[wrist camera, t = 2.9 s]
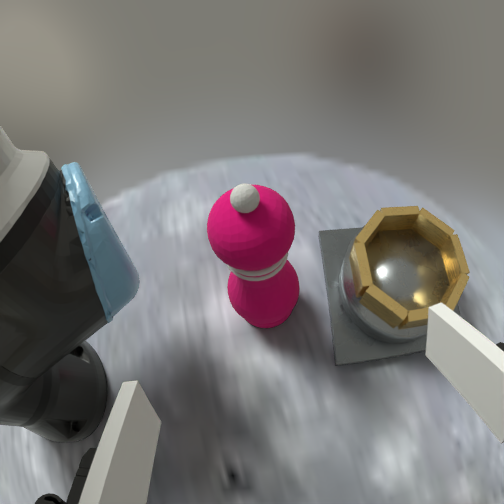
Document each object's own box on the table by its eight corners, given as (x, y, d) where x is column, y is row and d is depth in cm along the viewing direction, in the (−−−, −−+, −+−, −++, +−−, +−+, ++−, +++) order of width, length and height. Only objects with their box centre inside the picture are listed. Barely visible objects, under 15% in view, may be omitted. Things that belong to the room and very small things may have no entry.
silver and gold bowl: (335, 365, 31) (349, 353, 24) (318, 236, 39) (324, 195, 31) (460, 342, 30) (497, 323, 23) (430, 227, 37) (453, 190, 30)
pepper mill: (235, 274, 38) (189, 152, 20) (296, 271, 37) (299, 143, 19) (234, 333, 34) (175, 247, 17) (299, 331, 33) (312, 240, 16)
